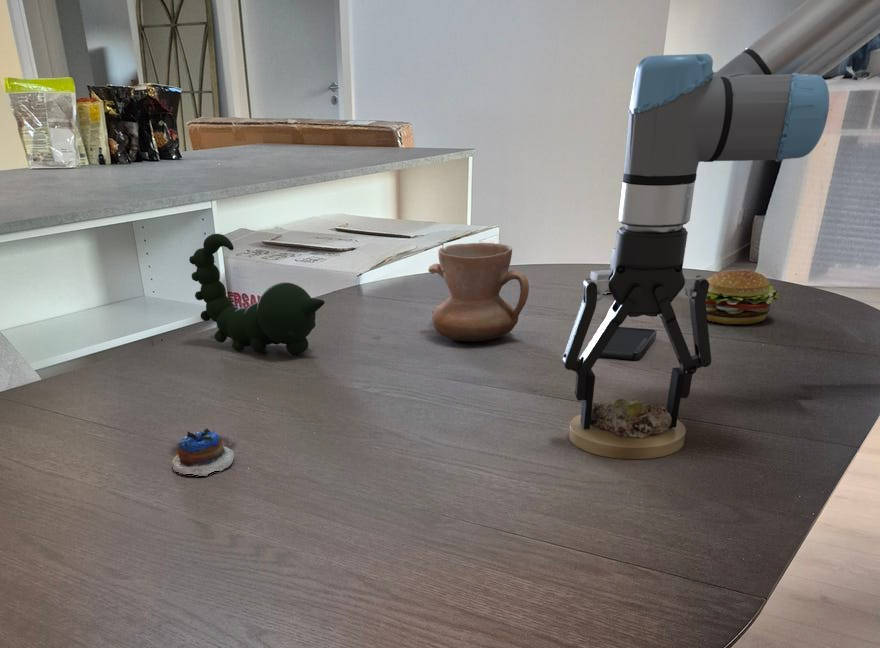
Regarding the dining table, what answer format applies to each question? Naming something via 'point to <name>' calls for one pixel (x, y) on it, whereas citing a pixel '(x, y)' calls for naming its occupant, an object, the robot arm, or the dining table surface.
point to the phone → (629, 343)
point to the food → (739, 297)
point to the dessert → (202, 454)
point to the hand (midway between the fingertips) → (627, 424)
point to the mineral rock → (630, 418)
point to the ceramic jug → (476, 292)
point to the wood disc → (626, 442)
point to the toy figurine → (254, 307)
